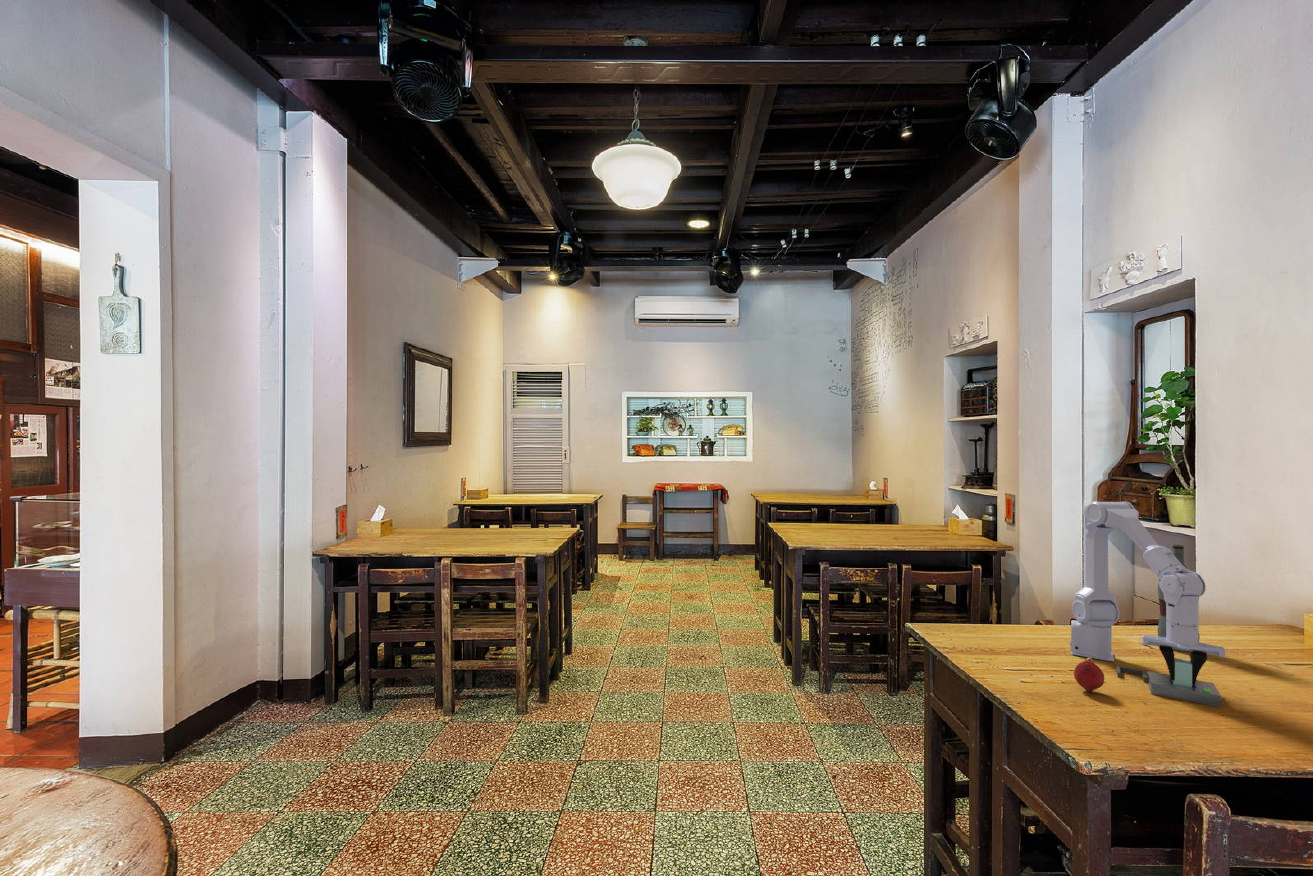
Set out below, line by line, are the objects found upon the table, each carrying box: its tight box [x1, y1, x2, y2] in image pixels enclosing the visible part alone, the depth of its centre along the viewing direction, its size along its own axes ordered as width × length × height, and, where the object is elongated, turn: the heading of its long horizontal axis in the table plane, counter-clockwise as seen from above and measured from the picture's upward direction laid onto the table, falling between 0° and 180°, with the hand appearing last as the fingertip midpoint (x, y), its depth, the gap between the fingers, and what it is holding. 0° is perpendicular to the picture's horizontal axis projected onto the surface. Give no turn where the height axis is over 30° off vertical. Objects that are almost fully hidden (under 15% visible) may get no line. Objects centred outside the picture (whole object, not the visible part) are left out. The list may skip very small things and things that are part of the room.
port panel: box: [1146, 671, 1222, 708], centre depth 138 cm, size 12×9×3 cm
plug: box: [1173, 657, 1192, 687], centre depth 138 cm, size 3×3×7 cm
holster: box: [1116, 665, 1148, 684], centre depth 149 cm, size 6×6×1 cm
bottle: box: [1157, 544, 1201, 653], centre depth 171 cm, size 9×9×30 cm
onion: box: [1073, 657, 1105, 693], centre depth 139 cm, size 6×6×8 cm
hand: (1182, 680), depth 138 cm, fingers closed on plug, 3 cm apart
